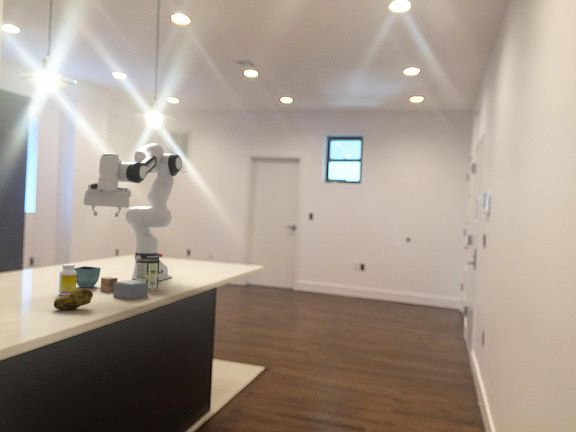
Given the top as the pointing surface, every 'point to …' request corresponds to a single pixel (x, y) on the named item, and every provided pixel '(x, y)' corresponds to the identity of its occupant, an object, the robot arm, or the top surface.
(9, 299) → the top surface
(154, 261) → the coffee can
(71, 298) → the potato
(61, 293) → the supplement bottle
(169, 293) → the top surface
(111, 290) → the walnut block
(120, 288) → the slate base
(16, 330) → the top surface
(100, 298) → the top surface
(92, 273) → the flower pot
